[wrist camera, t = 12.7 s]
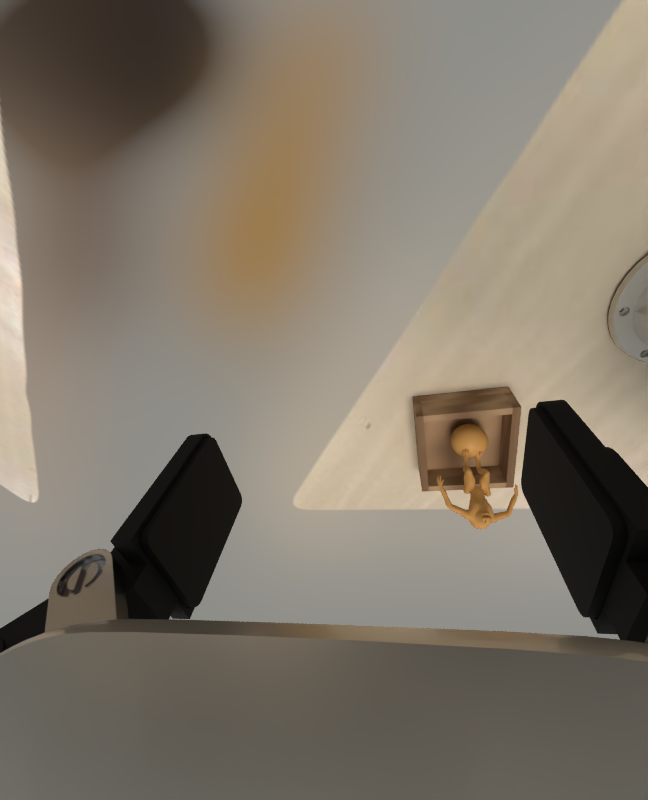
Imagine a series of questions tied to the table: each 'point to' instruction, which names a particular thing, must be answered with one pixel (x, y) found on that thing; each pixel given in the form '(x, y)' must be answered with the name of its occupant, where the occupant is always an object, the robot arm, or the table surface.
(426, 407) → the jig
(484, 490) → the figurine
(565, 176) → the table surface
